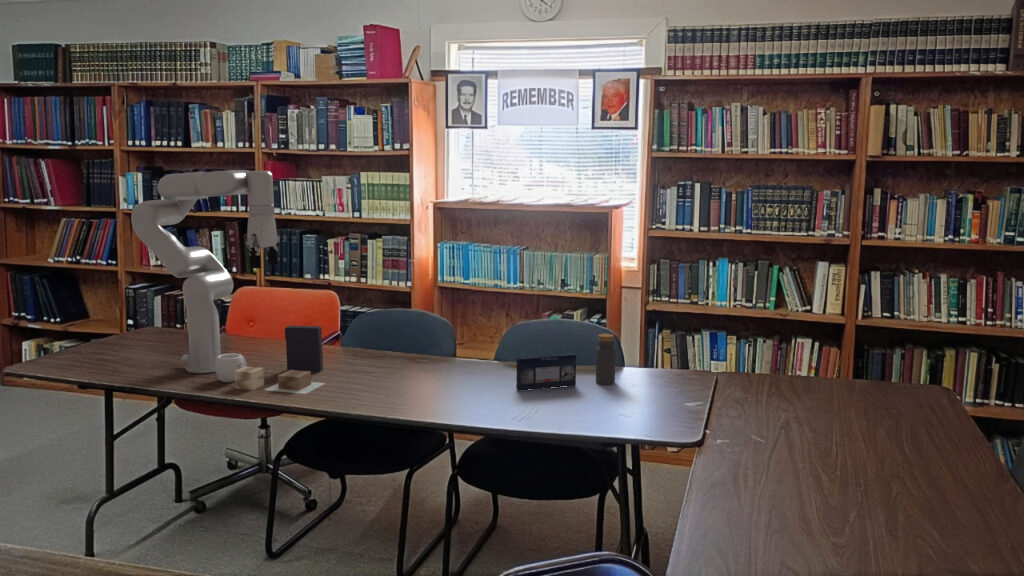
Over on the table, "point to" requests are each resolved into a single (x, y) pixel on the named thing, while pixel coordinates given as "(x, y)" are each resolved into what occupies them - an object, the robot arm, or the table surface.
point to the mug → (228, 366)
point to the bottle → (605, 360)
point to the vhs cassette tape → (546, 371)
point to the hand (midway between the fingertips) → (264, 266)
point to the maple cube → (249, 378)
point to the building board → (302, 391)
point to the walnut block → (294, 380)
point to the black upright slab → (304, 348)
